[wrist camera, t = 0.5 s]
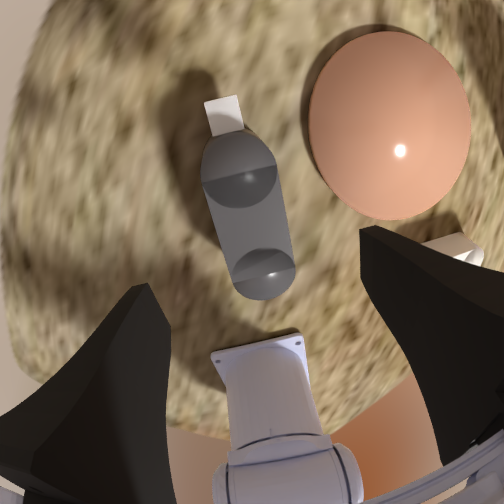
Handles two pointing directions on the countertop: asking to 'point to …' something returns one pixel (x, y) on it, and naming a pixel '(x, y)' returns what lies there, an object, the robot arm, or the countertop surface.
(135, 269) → the countertop surface
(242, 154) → the charcoal plug
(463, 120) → the coaster
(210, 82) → the countertop surface
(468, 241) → the white plug
